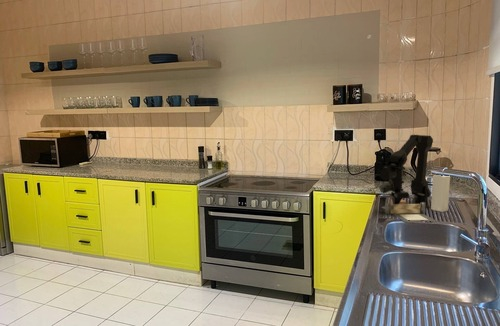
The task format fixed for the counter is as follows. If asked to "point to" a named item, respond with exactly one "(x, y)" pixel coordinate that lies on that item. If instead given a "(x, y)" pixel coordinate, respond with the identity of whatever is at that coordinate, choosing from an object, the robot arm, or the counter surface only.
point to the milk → (440, 193)
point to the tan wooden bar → (404, 208)
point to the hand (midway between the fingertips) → (395, 207)
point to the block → (400, 202)
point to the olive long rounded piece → (422, 208)
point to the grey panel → (412, 217)
